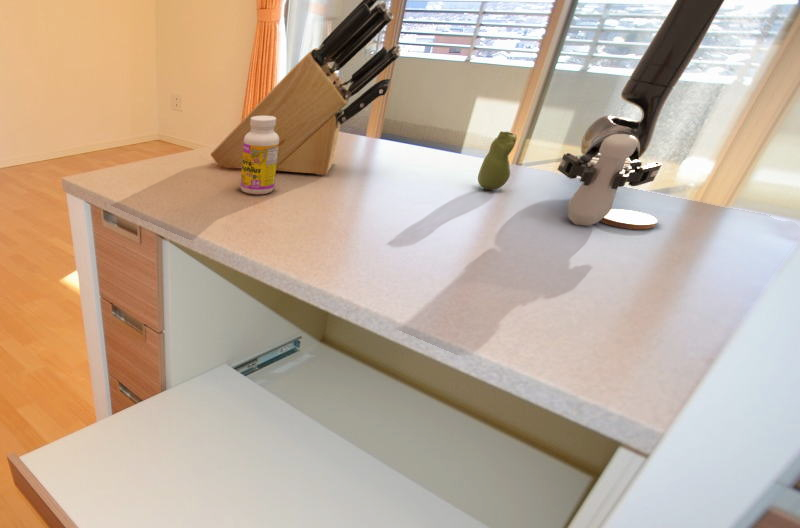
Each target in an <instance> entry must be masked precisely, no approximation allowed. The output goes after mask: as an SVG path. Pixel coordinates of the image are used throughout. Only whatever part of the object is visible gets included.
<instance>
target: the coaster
mask: <svg viewBox="0 0 800 528" xmlns="http://www.w3.org/2000/svg"><path fill="white" fill-rule="evenodd" d="M599 222H600V223H602V224H604V225H607V226H611V227H614V228H620V229H626V230H638V231H639V230H640V231H641V230H650V229H654V228H655V227H656V225H657V223H658V219H657V218H656V217H654V216H652V215H651V214H648V213H644V212H639V211H634V210H629V209H617V208H611V210H610V211H609V213H608V214H607V215H606V216H605V217H603V218H602V219H601V220H600V221H599Z"/></svg>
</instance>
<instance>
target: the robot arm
mask: <svg viewBox="0 0 800 528" xmlns="http://www.w3.org/2000/svg"><path fill="white" fill-rule="evenodd" d="M724 2H725V0H676V1H675V2H674V4H673V6H672V7H671V8H670V11H668V14H667V15H666V17H665V18H664V21H662V23H661V26H660V27H659V28H658V30H657V32H656V33H655V35H654V36H653V38H652V40H651V42H650V43H649V44H648V46H647V48H646V50H645V52H644V53H643V54H642V56H641V58H640V60H639V61H638V63H637V65H636V66H635V68H634V70H633V71H632V73H631V75H630V76H629V79H628V80H627V81H626V83H625V85H624V87H623V89H622V90H621V93H620V97H621V99H622V100H623V101H625V102H627V103H629V104H631V105H633V106H635V107H637V108H638V109H639V110H640V111H641V118H640V120H634V119H630V118H626V117H621V116H616V115H610V114H609V115H602V116H600V117H598V118H597V119H595V120H594V121H593V122H592V123H591V124H590V125H589V126H588V128H587V129H586V131H585V132H584V134H583V136H582V139H581V144H580V152H581V156H580V157H578V155H574V154H572V153H570V152H567V153H563V155H562V158H561V159H560V162H559V165H558V168H557V171H558V172H560V174H563V175H564V176H565V177H567V178H569V180H572V179H577V177H580V178H579V182H580V183H583V182H584V184H583V185H586V186H589V183H590V181H591V179H592V177H593V175H594V172H595V170H596V168H593V167H594V166H595V164H596V163H597V161H598V160H599V158H600V157H601V154H600V153H599V150H600V147H601V144H602V142H603V141H604V139H605V138H607V137H609V136H611V135H614V134H628V135H631V136H634V137H635V138H636V139H637V141H638V142H637V146H636V149H635V151H634V153H633V154H632V155H631V156H629V157H627V158H626V160H625V163H624V166H623V170H622V171H619V173H618V175H617V177H616V179H615V181H614V183H613V185H612V188H611V189H617V190H618V188H623V187H624V186H625V185H626V183H627V184H628V186H630V187H638V186H642V185H644V184H649V183H651V182H654V180H655V178H656V177H657V175H658V173H659V171H660V169H661V167H662V165H663V163H661V162H658V161H657V162H656V161H655V162H651V163H648V162H647V163H645V164H644V165H643V163H642V161H641V160H640V158H641V157H642V156H643V155H644V154H645V153H646V151H647V150H648V148H649V146H650V143H651V141H652V139H653V136H654V133H655V130H656V127H657V122H658V120H659V117H660V114H661V113H662V110H663V107H664V106H665V103H666V101H667V100H668V99H669V96H670V94H671V93H672V91H673V90H674V88H675V86H676V85H677V83H678V82H679V80H680V79H681V78H682V75H684V72H685V71H686V69H687V68H688V66H689V64H690V63H691V61H692V60H693V58H694V57H695V54H696V53H697V51H698V49H699V48H700V46H701V44H702V42H703V41H704V40H705V37H706V35H707V33H708V31H709V29H710V27H711V26H712V23H713V22H714V20H715V18H716V16H717V14H718V13H719V11H720V9H721V7H722V6H723V4H724Z"/></svg>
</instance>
